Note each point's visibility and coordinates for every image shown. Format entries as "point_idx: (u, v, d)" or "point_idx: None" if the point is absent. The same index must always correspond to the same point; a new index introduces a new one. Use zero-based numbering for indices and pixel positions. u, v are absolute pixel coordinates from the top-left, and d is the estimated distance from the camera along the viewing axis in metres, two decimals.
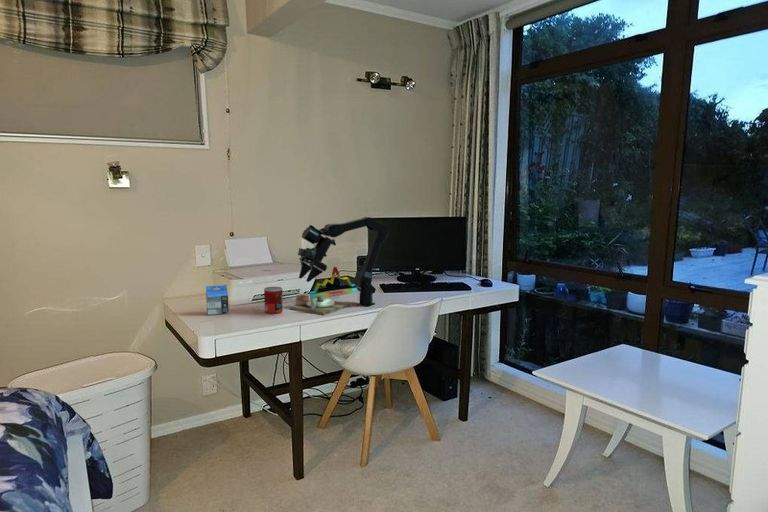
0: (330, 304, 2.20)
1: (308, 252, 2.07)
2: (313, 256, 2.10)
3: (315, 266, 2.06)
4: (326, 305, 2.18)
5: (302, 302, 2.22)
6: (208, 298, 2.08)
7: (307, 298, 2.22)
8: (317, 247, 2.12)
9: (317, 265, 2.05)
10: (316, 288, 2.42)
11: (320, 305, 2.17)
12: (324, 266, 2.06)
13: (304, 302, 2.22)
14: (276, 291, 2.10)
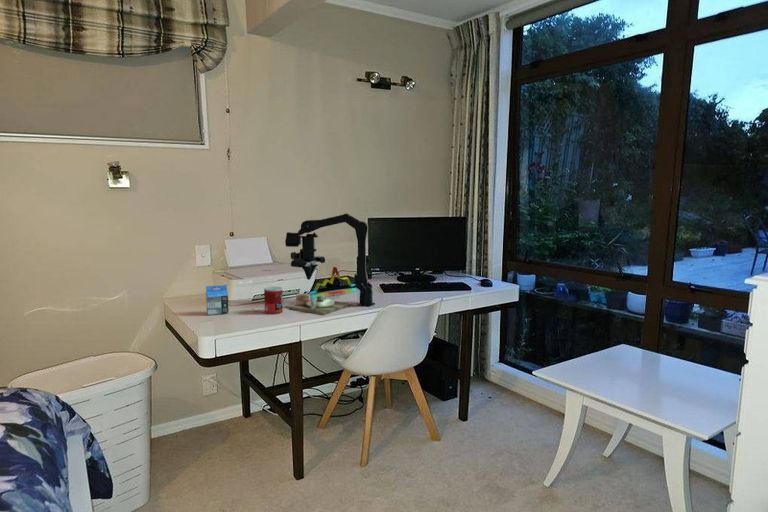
0: (330, 304, 2.20)
1: (292, 256, 2.27)
2: (300, 257, 2.26)
3: None
4: (326, 305, 2.18)
5: (302, 302, 2.22)
6: (208, 298, 2.08)
7: (307, 298, 2.22)
8: None
9: (292, 265, 2.21)
10: (316, 288, 2.42)
11: (320, 305, 2.17)
12: (297, 263, 2.19)
13: (304, 302, 2.22)
14: (276, 291, 2.10)
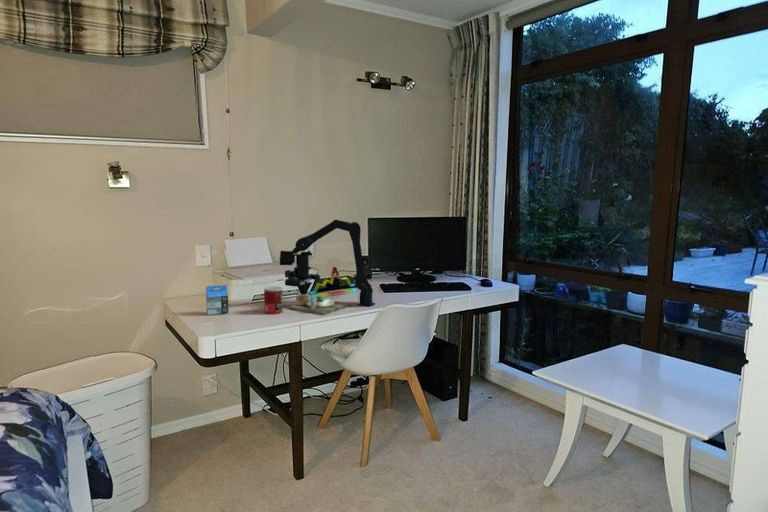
0: (331, 304, 2.20)
1: (286, 274, 2.24)
2: (294, 275, 2.24)
3: None
4: (327, 305, 2.18)
5: (302, 302, 2.22)
6: (208, 298, 2.08)
7: (307, 298, 2.22)
8: None
9: (286, 284, 2.18)
10: (316, 288, 2.42)
11: (320, 305, 2.17)
12: (291, 282, 2.17)
13: (304, 302, 2.22)
14: (276, 291, 2.10)
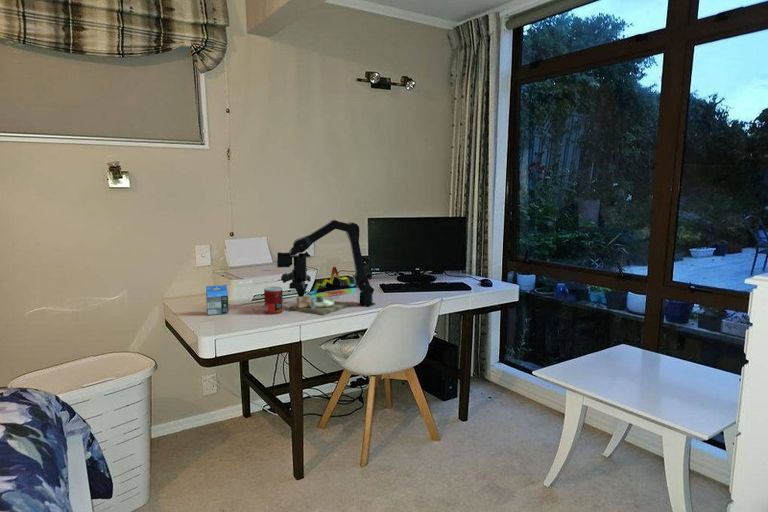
0: None
1: (284, 277, 2.16)
2: (293, 278, 2.17)
3: None
4: (332, 303, 2.21)
5: (305, 304, 2.18)
6: (208, 298, 2.08)
7: (310, 300, 2.19)
8: (294, 267, 2.18)
9: (292, 287, 2.11)
10: (315, 288, 2.42)
11: (328, 304, 2.19)
12: (299, 284, 2.11)
13: (307, 304, 2.19)
14: (276, 291, 2.10)
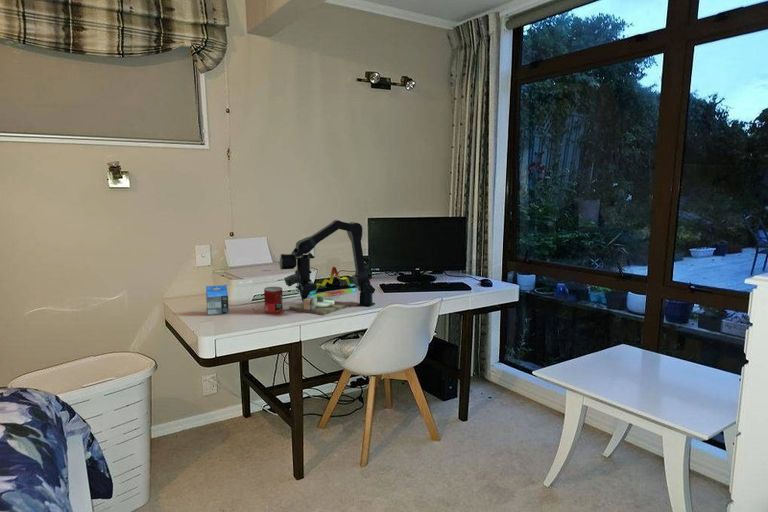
0: None
1: (293, 280, 2.09)
2: (300, 280, 2.12)
3: None
4: None
5: None
6: (208, 298, 2.08)
7: None
8: (299, 269, 2.13)
9: (307, 289, 2.07)
10: None
11: (333, 302, 2.22)
12: (313, 286, 2.09)
13: None
14: (276, 291, 2.10)
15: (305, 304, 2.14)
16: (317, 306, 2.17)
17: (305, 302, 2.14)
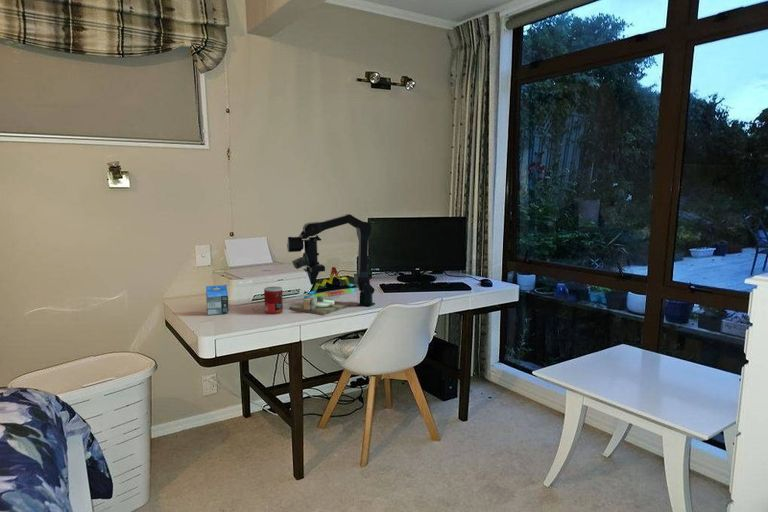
0: None
1: (301, 263, 2.12)
2: (308, 262, 2.14)
3: None
4: None
5: None
6: (208, 298, 2.08)
7: None
8: (306, 252, 2.15)
9: (315, 270, 2.10)
10: (315, 288, 2.42)
11: (333, 302, 2.22)
12: (322, 267, 2.11)
13: None
14: (276, 291, 2.10)
15: (305, 304, 2.14)
16: (317, 306, 2.17)
17: (305, 302, 2.14)
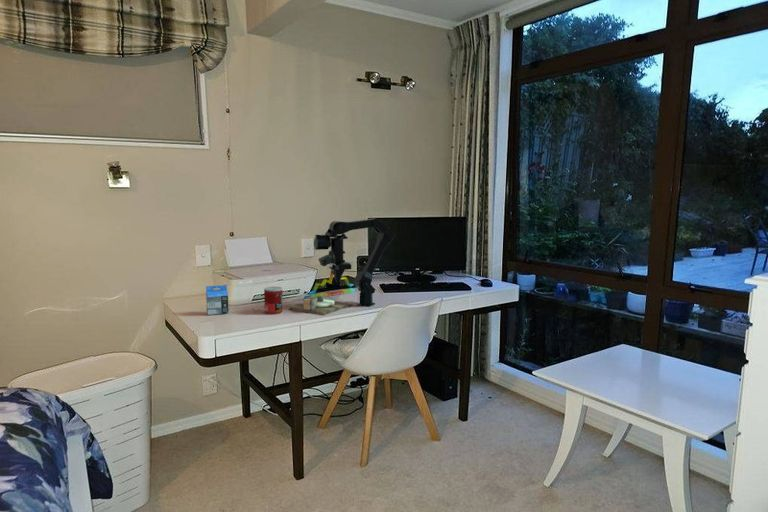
0: None
1: (328, 260, 2.14)
2: (334, 260, 2.17)
3: None
4: None
5: None
6: (208, 298, 2.08)
7: None
8: (333, 250, 2.18)
9: (342, 268, 2.12)
10: (315, 288, 2.42)
11: (333, 302, 2.22)
12: (348, 265, 2.13)
13: None
14: (276, 291, 2.10)
15: (305, 304, 2.14)
16: (317, 306, 2.17)
17: (305, 302, 2.14)
